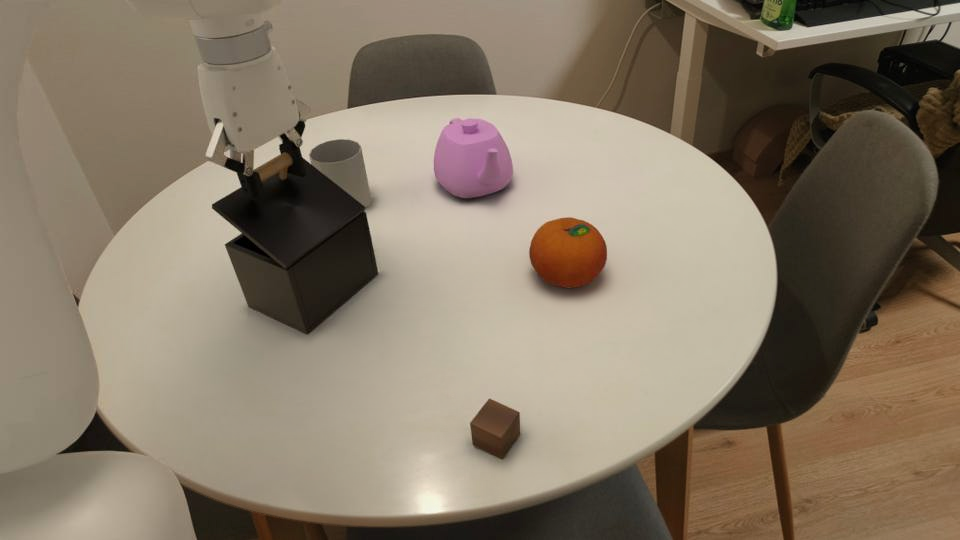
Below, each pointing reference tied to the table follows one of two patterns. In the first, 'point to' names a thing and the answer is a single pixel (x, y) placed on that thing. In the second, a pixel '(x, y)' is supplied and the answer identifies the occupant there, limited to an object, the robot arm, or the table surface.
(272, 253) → the box lid
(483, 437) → the block
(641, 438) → the table surface
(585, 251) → the fruit
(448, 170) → the teapot
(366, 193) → the faceted grey tumbler
